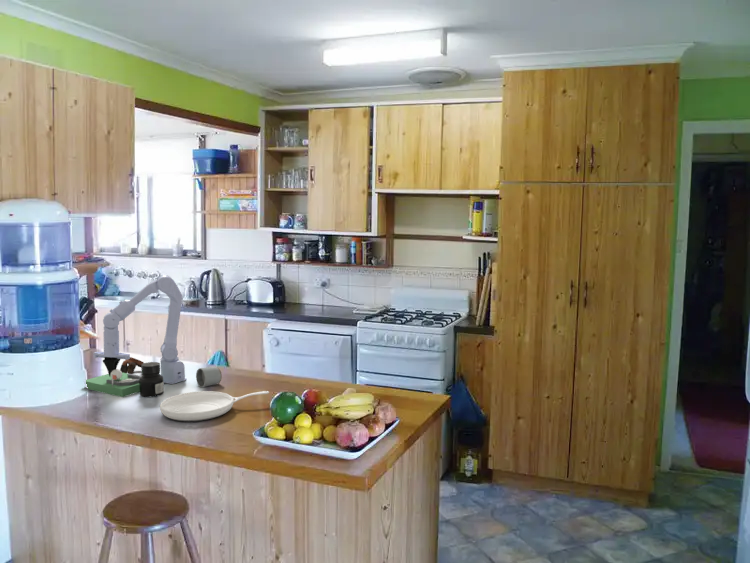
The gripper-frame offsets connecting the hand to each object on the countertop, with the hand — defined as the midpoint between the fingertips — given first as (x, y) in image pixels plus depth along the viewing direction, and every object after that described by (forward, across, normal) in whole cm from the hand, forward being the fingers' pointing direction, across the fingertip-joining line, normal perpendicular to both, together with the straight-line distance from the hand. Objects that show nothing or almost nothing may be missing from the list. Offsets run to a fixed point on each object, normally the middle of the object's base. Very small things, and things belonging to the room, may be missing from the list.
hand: (111, 375), depth 248 cm
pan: (+3, -53, +22) cm, 58 cm away
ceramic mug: (+3, -37, -8) cm, 38 cm away
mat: (+4, -4, +1) cm, 6 cm away
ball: (-1, -2, +1) cm, 3 cm away
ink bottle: (+4, -21, +8) cm, 23 cm away
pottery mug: (+4, +2, -19) cm, 20 cm away
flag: (+4, -7, +10) cm, 13 cm away
